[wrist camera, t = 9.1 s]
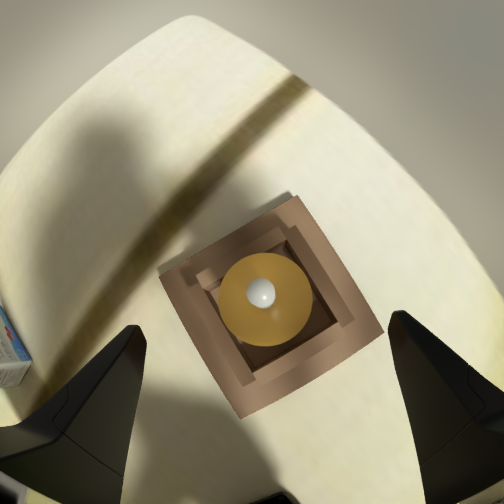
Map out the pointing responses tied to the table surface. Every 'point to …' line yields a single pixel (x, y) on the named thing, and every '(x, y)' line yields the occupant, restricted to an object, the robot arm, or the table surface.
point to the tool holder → (297, 348)
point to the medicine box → (11, 355)
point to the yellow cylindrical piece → (265, 299)
